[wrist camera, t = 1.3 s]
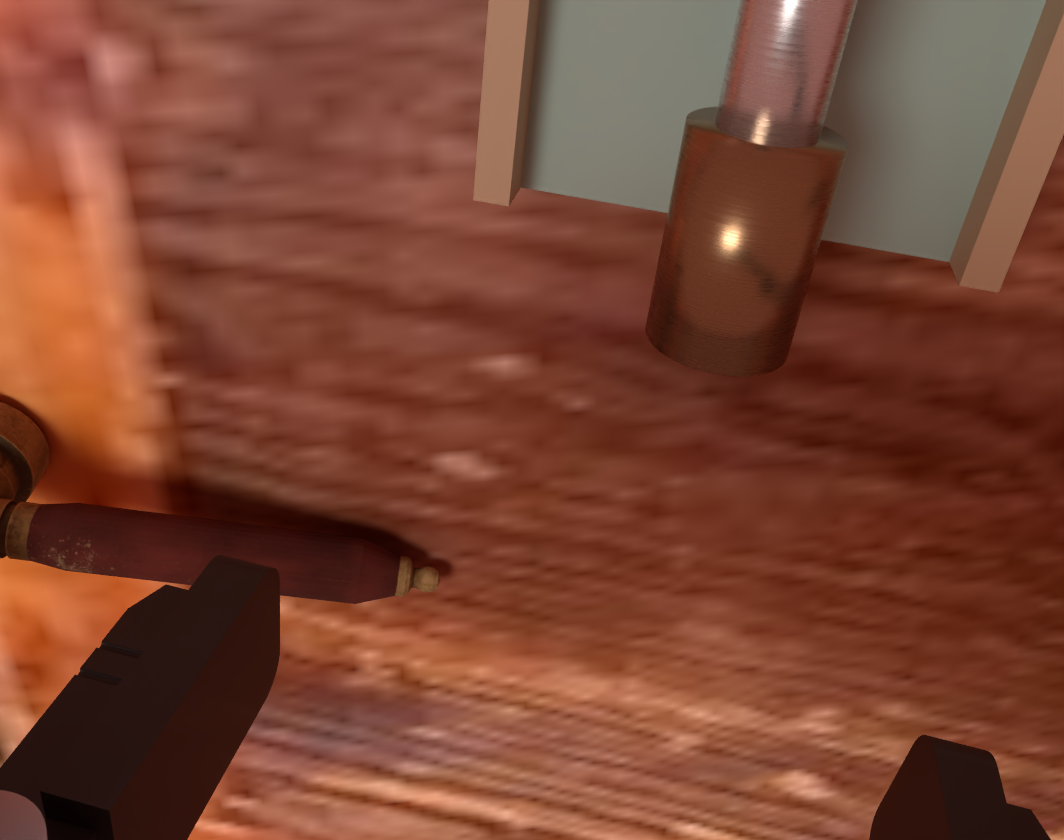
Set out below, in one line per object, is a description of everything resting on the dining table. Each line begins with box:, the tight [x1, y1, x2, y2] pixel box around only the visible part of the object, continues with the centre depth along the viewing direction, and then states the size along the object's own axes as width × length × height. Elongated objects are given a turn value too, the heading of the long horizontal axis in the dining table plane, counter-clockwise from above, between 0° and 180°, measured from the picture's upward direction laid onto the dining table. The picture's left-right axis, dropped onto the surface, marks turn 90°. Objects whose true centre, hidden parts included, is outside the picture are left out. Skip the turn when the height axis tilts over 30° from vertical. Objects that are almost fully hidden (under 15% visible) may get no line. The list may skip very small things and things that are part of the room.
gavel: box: [0, 402, 440, 604], centre depth 37 cm, size 21×5×10 cm, turn 78°
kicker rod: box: [646, 0, 857, 376], centre depth 20 cm, size 3×14×8 cm, turn 174°
